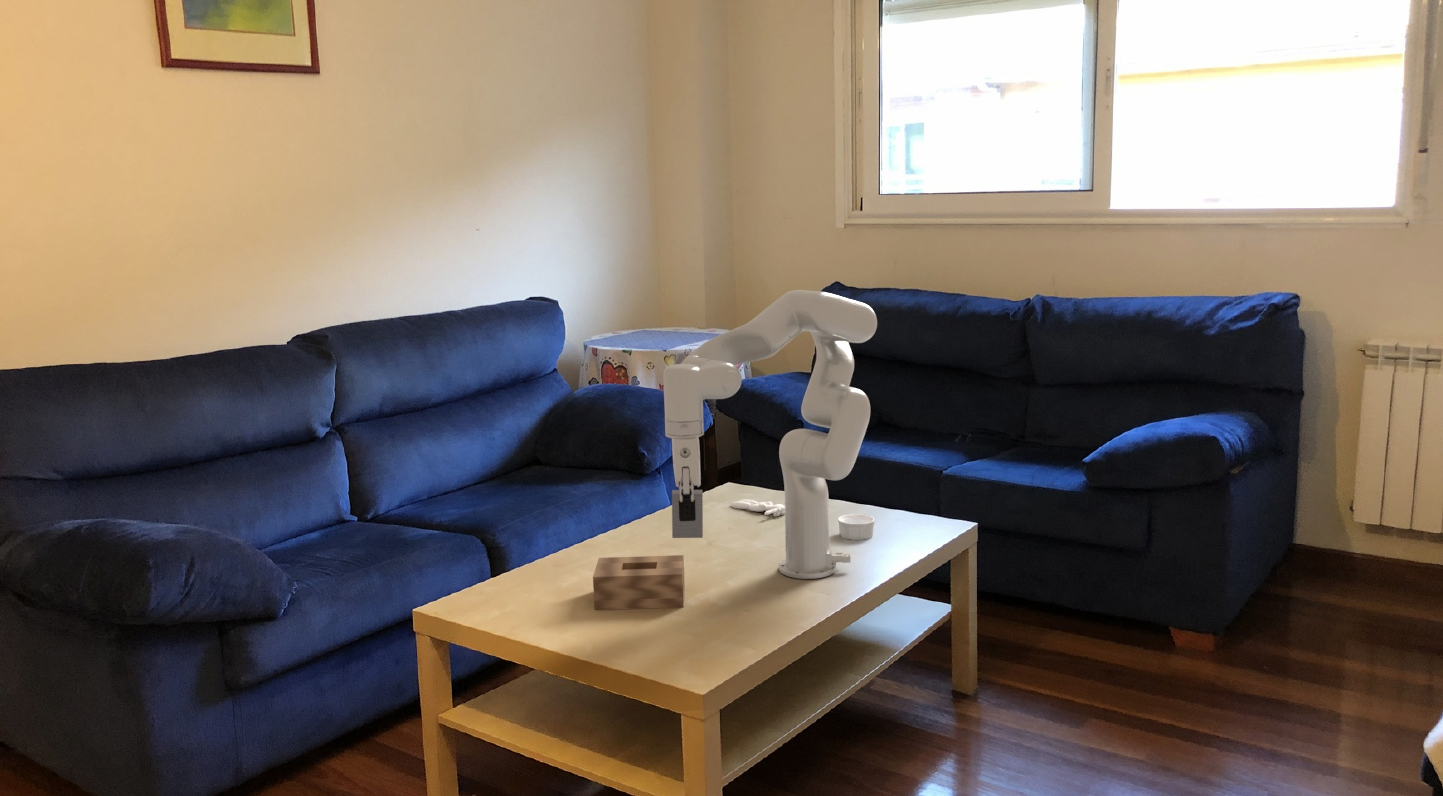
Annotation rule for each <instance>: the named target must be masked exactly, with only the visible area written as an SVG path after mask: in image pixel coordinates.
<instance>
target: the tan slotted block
mask: <svg viewBox="0 0 1443 796" xmlns="http://www.w3.org/2000/svg"><path fill="white" fill-rule="evenodd" d="M684 556H685V555H684V554H681V555H678V554H677V555H650V556H649V555H648V556H644V555H643V556H616V557H614V556H613V557H598V559H597V561H596V562H597V563H596V565H595V570H594V572H593V575H592V582H593V583H592V585H593V586H592V587H593V603H594V605H593V606H594V607H593V608H594V611H605V610H608V611H609V610H634V609H635V610H639V609H640V610H641V609H665V608H667V609H668V608H669V609H671V608H672V609H673V608H684V606H685V605H684V601H685V589H686V588H685V560H684V558H685V557H684Z"/></svg>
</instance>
